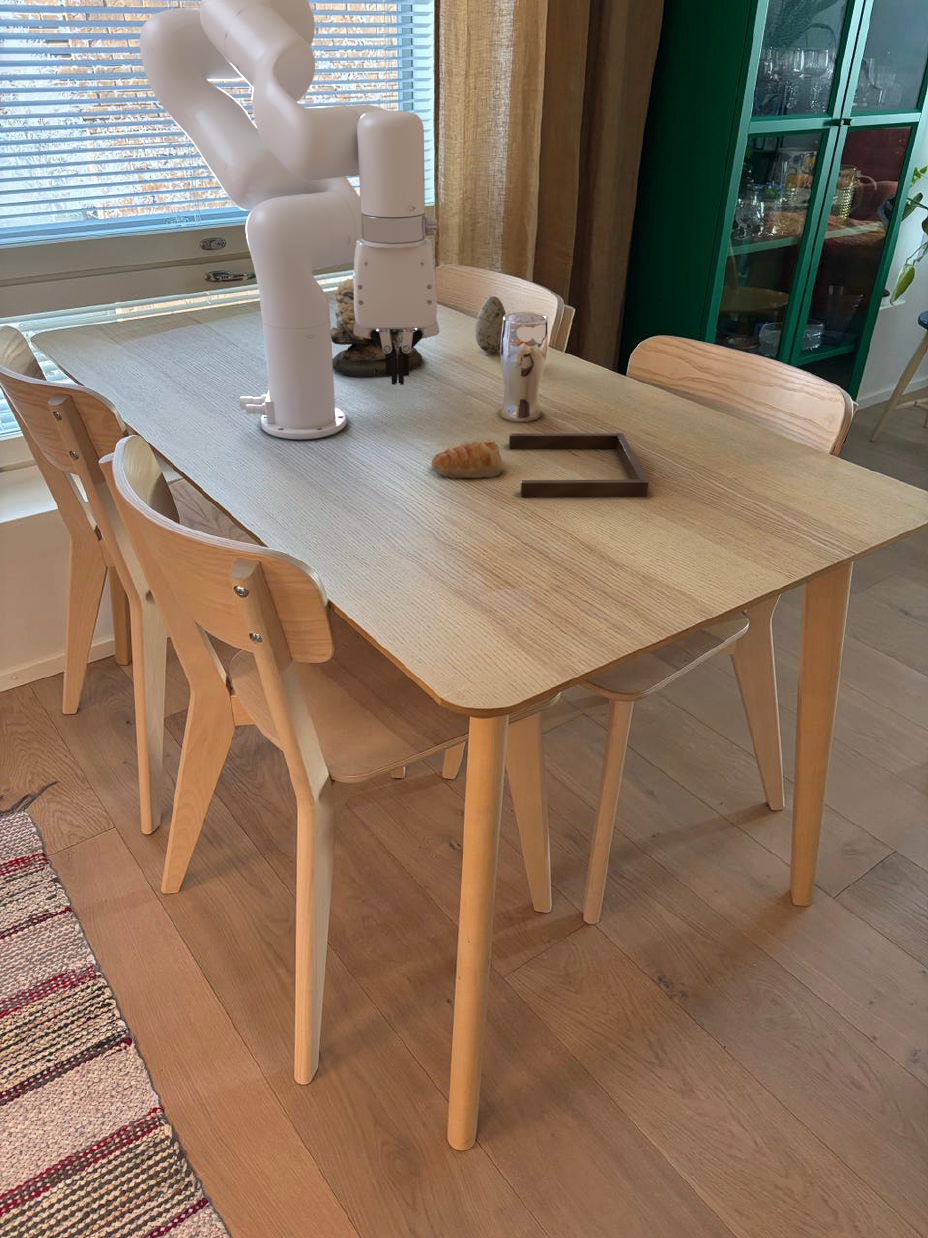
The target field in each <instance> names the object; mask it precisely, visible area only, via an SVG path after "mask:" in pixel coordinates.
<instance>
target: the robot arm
mask: <svg viewBox="0 0 928 1238" xmlns="http://www.w3.org/2000/svg"><path fill="white" fill-rule="evenodd" d="M315 29H316V23H315V17H314V12H313V9H312V6H311V4H310V2H309V0H200V4H199V8H198V7H197V8H196V7H194V8H193V7H182V8H180V7H179V8H171V9H166V10H162V11H160V12H157V13H154V14H153V15H151V16H150V17H149V18H148V19H146V21H145V22H144V24H143V25H142V28H141V31H140V34H139V36H140V37H139V50H140V56H141V62H142V66H143V70H144V72H145V76H146V78H147V81H148V83H149V86H150V88H151V90H152V92H153V94H154V96H155V98H156V99H157V101H158V103H159V105H160V106H161V107H162V108H163V109H164V111H165V113H167V114H168V116H169V117H170V118H171V120H172V121H173V122H174V123H175V124H176V125H177V126H178V127H179V128H180V130H182V132H184V134H185V135H186V137H188V139H189V140H190V141H191V142H192V144H193V145H194V147H196V150H197V152H198V153H199V154H200V156H201V158H202V159H203V161H204V162H205V164H206V166H207V167H208V169H209V170H210V172H211V173H212V175H213V176H214V178H215V180H216V181H217V183H218V184H219V185H220V187H221V189H222V191H224V193H225V194H226V196H227V197H228V198H229V200H230V201H231V203H232V204H234V206H236V207H237V208H239V209H240V210H243V211H246V212H249V214H248V215H247V219H246V223H245V236H246V237H245V238H246V242H247V247H248V250H249V253H250V258H251V261H252V264H253V268H254V272H255V277H256V282H257V289H258V295H259V297H258V298H259V304H260V314H261V315H260V316H261V322H262V334H263V346H264V354H265V355H264V356H265V365H266V376H267V387H268V391H267V394H261V395H260V397H259V396H257V397H256V396H255V397H253V396H240V397H239V407H240V410H241V411H245V413H246V415H257V414H258V415H259V414H260V415H261V414H262V415H261V416H260V426H261V429H262V430H263V431H264V432H266V433H267V434H268V435H270V436H273V437H276V438H280V439H287V440H315V439H320V438H325V437H329V436H332V435H335V434H337V433H339V432H340V431H342V430H343V429H344V428H345V427H346V426H347V415H346V414H345V412H344V411H343V410H342V409H340V408H338V407H336V401H335V386H334V385H335V381H334V380H335V379H334V369H333V362H332V359H333V345H332V341H331V340H332V339H331V329H332V325H331V313H330V312H331V311H330V304H329V300H328V297H327V295H326V292H325V291H324V290H323V288H322V287H321V285H320V284H319V283H318V281H317V280H316V278H315V276H314V274H313V272H314V271H315V270H320V269H324V268H329V267H335V266H341V265H345V264H346V265H347V264H350V263H353V275H354V313H355V324H354V329H353V333H354V335H356V336H359V337H364V338H369V339H372V340H373V341H374V342H375V343H376V344H377V345H378V346H379V347H380V348H381V349H382V350H383V352H384V353H385V363H386V375H385V377H390V379H391V386H396V385H397V384H399V386H403V385H405V377H410V370H409V352H410V351H411V349H412V348H413V347H414V348H415V346H416V345H417V344H418V343H419V342H420V341H421V340H423V339H427V338H432V337H435V336H438V335H439V334H440V328H439V327H440V326H439V323H438V319H437V314H438V293H437V274H436V261H435V254H434V248H433V244H432V240H431V239H429V238H426V235H429V234H428V233H432V232H438V219H437V218H432V217H428V215H426V196H425V195H426V193H425V192H426V190H425V187H426V185H425V183H426V181H425V127H424V124H423V120H422V119H421V117H420V116H419V115H418V114H416V113H414V112H410V111H405V110H404V111H402V110H387V109H384V108H382V107H379V106H376V105H371V104H354V105H345V104H344V105H343V104H341V105H325V106H322V105H321V106H309V107H306V106H303V105H301V104H300V103H298V101H300V100H301V99H302V98H303V97H304V96H305V94H306V93H307V92H308V90H309V88H310V87H311V85H312V83H313V81H314V77H315V73H316V72H315V71H316V59H315V55H314V52H313V50H312V48H311V46H312V43H313V41H314V37H315ZM212 81H213V82H215V81H216V82H219V81H220V82H221V81H245V82H246V83H247V84H248V85H249V86H250V87H251V88H252V92H251V108H252V115H253V119H254V121H253V120H252V119H251V117H250V115H249V114H248V112H247V111H246V109H245V108H244V107H243V106H242V105H241V104H240V102H239V101H237V100H236V99H235V98H234V97H233V96H231V95H230V93H228V92H227V91H225V90H223V89H221V88H220V87H218V86H217V85H215V84H214V83H212ZM348 177H351V178H352V177H358V179H359V180H358V181H359V194H358V192H357V191H356V190H355V187H353V185H352V183H351V182H350V180H349V179H348ZM390 329H403V334H402V342H401V343H400V344H399V349H398V373H397V351H396V349H395V344H394V343H393V342H392V338H391V333H390Z"/></svg>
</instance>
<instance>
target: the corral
mask: <svg viewBox="0 0 928 1238" xmlns="http://www.w3.org/2000/svg"><path fill="white" fill-rule="evenodd" d="M508 449H509V450H574V449H575V450H578V449H579V450H580V449H582V450H584V449H585V450H586V449H587V450H590V449H592V450H593V449H594V450H595V449H596V450H598V449H600V450H601V449H604V450H605V449H607V450H609V449H611V450H613V449H616V451H617V454H618V455H619V458H620V459H621V461H622V464H623V465H624V467H625V469H626V471H627V474H628V476H629V478H630V479H521V480H520V492H519V493H520V497H521V498H593V497H594V498H597V497H598V498H599V497H600V498H602V497H604V498H605V497H610V498H611V497H612V498H613V497H614V498H615V497H616V498H617V497H623V498H625V497H647V496H648V491H649V481H648V479H647V476H646V475H645V473H644V471H643V469H642V467H641V465H640V463H639V461H638V459H637V457H636V455H635V454H634V452H633V449H632V448H631V446H630V444H629V442H628V440H627V438H626V436H625V434H624V433H622V432H614V433H613V432H608V433H607V432H604V433H603V432H593V433H592V432H591V433H590V432H588V433H587V432H584V433H583V432H581V433H579V432H577V433H576V432H573V433H571V432H570V433H569V432H567V433H565V432H564V433H563V432H562V433H561V432H560V433H557V432H556V433H554V432H551V433H550V432H549V433H548V432H547V433H546V432H545V433H544V432H543V433H537V432H536V433H532V432H529V433H526V432H525V433H524V432H523V433H520V432H519V433H517V432H515V433H514V432H513V433H512V432H511V433H510V432H509V434H508Z"/></svg>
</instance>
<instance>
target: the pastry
mask: <svg viewBox="0 0 928 1238" xmlns="http://www.w3.org/2000/svg"><path fill="white" fill-rule="evenodd" d="M430 467H431V469H432V470H433V471H434V472H436V473H437V474H439V475H441V476H444V477H446V478H451V479H454V478H461V479H465V478H466V479H467V478H468V479H470V478H471V479H478V478H480V479H481V478H483V477H486V478H492V477H493V478H494V477H495V476H499V475H500V474H501V472H502V471H503V469H504V467H503V460H502V456H501V453H500V448H499V446H498V444H497V442H496V441H494V440H490V439H487V440H485V441H483V442H482V441H471V442H469V441H465V442H463V443H461V444H460V445H456V446H455V447H452V448H447V449H445V450H443V451H441V452H439V453H437V454H435V455H434V456H433V458H432V461H431V466H430Z"/></svg>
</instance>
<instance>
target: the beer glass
mask: <svg viewBox="0 0 928 1238" xmlns="http://www.w3.org/2000/svg"><path fill="white" fill-rule="evenodd" d="M548 320H549V319H548V316H546V315H545V314H542V313H539V312H533V311H512V312H508V313H506V314H505V315H504V316H503V325H502V333H501V349H500V365H501V372H502V380H503V400H502V405H501V408H500V416H501V417H502V418H503V419H505V420H507V421H509V422H510V421H511V422H517V423H528V422H532V421H535V420H536V421H537V419H539V418H540V416H541V410H540V409H541V408H540V401H539V394H540V393H539V392H540V387H541V382H542V377H543V373H544V368H545V365H546V359H547V352H548Z"/></svg>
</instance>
